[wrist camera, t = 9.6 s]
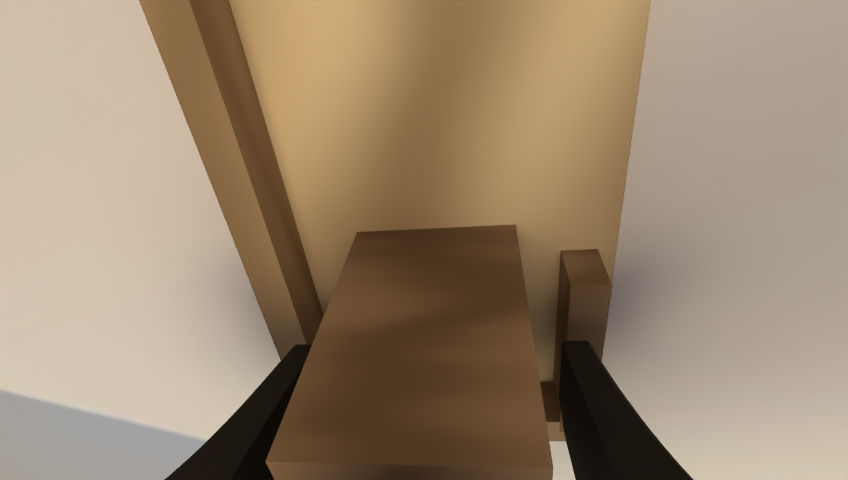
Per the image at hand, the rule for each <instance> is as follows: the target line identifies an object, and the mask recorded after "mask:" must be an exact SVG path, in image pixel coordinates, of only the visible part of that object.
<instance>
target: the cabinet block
mask: <svg viewBox="0 0 848 480" xmlns="http://www.w3.org/2000/svg"><path fill="white" fill-rule="evenodd" d="M265 462H266V464H267V466H268V468H269V470H270V472H271V474H272V476H273V478H274V480H552V477H553V464H552V457H551V451H550V444H549V438H548V431H547V425H546V418H545V412H544V405H543V399H542V392H541V385H540V379H539V372H538V366H537V359H536V353H535V346H534V340H533V333H532V327H531V320H530V314H529V307H528V301H527V294H526V288H525V281H524V275H523V268H522V262H521V255H520V249H519V242H518V236H517V229H516V224H514V225H493V226H472V227H451V228H430V229H409V230H388V231H366V232H357V234H356V236H355V239H354V241H353V244H352V246H351V249H350V251H349V254H348V256H347V259H346V261H345V264H344V266H343V269H342V271H341V274H340V276H339V279H338V281H337V284H336V286H335V289H334V291H333V294H332V296H331V299H330V301H329V304H328V306H327V309H326V311H325V314H324V316H323V319H322V321H321V324H320V326H319V329H318V331H317V334H316V336H315V339H314V341H313V344H312V346H311V349H310V351H309V354H308V356H307V359H306V361H305V364H304V366H303V369H302V371H301V374H300V376H299V379H298V381H297V384H296V386H295V389H294V391H293V394H292V396H291V399H290V401H289V404H288V406H287V409H286V411H285V414H284V416H283V419H282V421H281V424H280V426H279V429H278V431H277V434H276V436H275V439H274V441H273V444H272V446H271V449H270V451H269V454H268V456H267V459H266V461H265Z"/></svg>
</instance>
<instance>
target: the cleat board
mask: <svg viewBox="0 0 848 480" xmlns="http://www.w3.org/2000/svg"><path fill="white" fill-rule="evenodd" d="M139 1H140V4H141V6H142V9H143V11H144V14H145V16H146V19H147V22H148V24H149V27H150V29H151V32H152V34H153V37H154V39H155V42H156V44H157V47H158V49H159V52H160V55H161V57H162V60H163V62H164V65H165V67H166V70H167V72H168V75H169V77H170V80H171V83H172V85H173V88H174V90H175V93H176V95H177V98H178V100H179V103H180V105H181V108H182V110H183V113H184V116H185V118H186V121H187V123H188V126H189V128H190V131H191V133H192V136H193V138H194V141H195V143H196V146H197V149H198V151H199V154H200V156H201V159H202V161H203V164H204V166H205V169H206V171H207V174H208V176H209V179H210V182H211V184H212V187H213V189H214V192H215V194H216V197H217V199H218V202H219V204H220V207H221V209H222V212H223V215H224V217H225V220H226V222H227V225H228V227H229V230H230V232H231V235H232V237H233V240H234V242H235V245H236V248H237V250H238V253H239V255H240V258H241V260H242V263H243V265H244V268H245V270H246V273H247V275H248V278H249V281H250V283H251V286H252V288H253V291H254V293H255V296H256V298H257V301H258V303H259V306H260V309H261V311H262V314H263V316H264V319H265V321H266V324H267V326H268V329H269V331H270V334H271V336H272V339H273V342H274V344H275V347H276V349H277V352H278V354H279V357H280V359H281V360H282V359H283V358H284V357H285V356H286V355H287V353H288V352H289V351H290V350H291V349H292V348H293V347H294V346H295V345H303V344H313V341H314V339H315V336H316V334H317V331H318V329H319V326H320V324H321V321H322V319H323V316H324V314H325V311H326V309H327V306H328V304H329V301H330V299H331V296H332V294H333V291H334V289H335V286H336V284H337V281H338V279H339V276H340V274H341V271H342V269H343V266H344V264H345V261H346V259H347V256H348V254H349V251H350V249H351V246H352V244H353V241H354V239H355V236H356V234H357V232H366V231H388V230H409V229H430V228H451V227H472V226H493V225H514V224H516V229H517V236H518V242H519V249H520V255H521V262H522V268H523V275H524V281H525V288H526V294H527V301H528V307H529V314H530V320H531V327H532V333H533V340H534V346H535V353H536V359H537V366H538V372H539V379H540V385H541V392H542V399H543V405H544V412H545V418H546V425H547V431H548V438H549V441H566V438H565V434H564V428H563V422H562V415H561V408H560V401H559V381H560V367H561V353H562V341H588V342H589V343H591V345H592V346H593V348H594V350H595V352H596V353H597V355H598V357H599V358H600V360H601V361H602V354H603V346H604V339H605V332H606V325H607V318H608V311H609V304H610V297H611V289H612V276H613V268H614V261H615V254H616V247H617V239H618V232H619V225H620V218H621V211H622V203H623V196H624V189H625V182H626V175H627V167H628V160H629V153H630V146H631V139H632V131H633V124H634V117H635V110H636V103H637V95H638V88H639V81H640V74H641V67H642V59H643V52H644V45H645V38H646V31H647V23H648V16H649V9H650V2H651V0H139Z"/></svg>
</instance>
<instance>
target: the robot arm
mask: <svg viewBox="0 0 848 480" xmlns="http://www.w3.org/2000/svg"><path fill="white" fill-rule="evenodd" d="M311 346H312V344H303V345H295V346H294V347H293V348H292V349H291V350H290V351H289V352H288V353H287V355H286V356H285V357H284V358H283V359H282V360H281V361H280V363H279V364H278V365H277V366H276V367H275V368H274V370H273V371H272V372H271V373H270V374H269V375H268V377H267V378H266V379H265V380H264V381H263V382H262V383H261V385H260V386H259V387H258V388H257V389H256V390H255V391H254V392H253V394H252V395H251V396H250V397H249V398H248V399H247V400H246V401H245V402H244V403H243V405H242V406H241V407H240V408H239V409H238V410H237V411H236V412H235V413H234V414H233V415H232V416H231V417H230V418H229V419H228V421H227V422H226V423H225V424H224V425H223V426H222V427H221V428H220V429H219V430H218V431H217V432H216V433H215V434H214V435H213V436H212V437H211V438H210V439H209V440H208V441H207V442H206V443H205V444H204V445H203V446H202V447H201V448H200V449H199V450H197V451H196V452H195V453H194V454H193V455H192V456H191V457H190V458H189V459H188V460H187V461H185V463H183V464H182V465H181V466H180V467H179V468H178V469H176V470H175V471H174V472H173V473H172V474H171V475H170V476H169V477H167V478H166V479H165V480H274V478H273V476H272V474H271V472H270V470H269V468H268V466H267V464H266V462H265V461H266V459H267V456H268V454H269V451H270V449H271V446H272V444H273V441H274V439H275V436H276V434H277V431H278V429H279V426H280V424H281V421H282V419H283V416H284V414H285V411H286V409H287V406H288V404H289V401H290V399H291V396H292V394H293V391H294V389H295V386H296V384H297V381H298V379H299V376H300V374H301V371H302V369H303V366H304V364H305V361H306V359H307V356H308V354H309V351H310V349H311ZM559 401H560V408H561V415H562V422H563V428H564V434H565V438H566V442H567V446H568V450H569V454H570V458H571V462H572V466H573V470H574V474H575V478H576V480H693V479H692V478H691V477H690V475H689V474H688V473H687V472H686V471H685V470H684V469H683V468H682V467H681V466H680V465H679V463H678V462H677V461H676V460H675V459H674V458H673V457H672V455H671V454H670V453H669V452H668V451H667V450H666V448H665V447H664V446H663V445H662V444H661V442H660V441H659V440H658V439H657V437H656V436H655V435H654V434H653V433H652V431H651V430H650V429H649V428H648V426H647V425H646V424H645V423H644V421H643V420H642V419H641V417H640V416H639V415H638V413H637V412H636V411H635V409H634V408H633V407H632V405H631V404H630V403H629V401H628V400H627V399H626V397H625V396H624V394H623V393H622V392H621V390H620V389H619V387H618V386H617V384H616V383H615V381H614V380H613V378H612V377H611V375H610V374H609V373H608V371H607V369H606V368H605V366H604V365H603V363H602V362H601V360H600V358H599V357H598V355H597V353H596V352H595V350H594V348H593V346H592V345H591V343H589V342H588V341H562V353H561V367H560V381H559Z"/></svg>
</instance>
